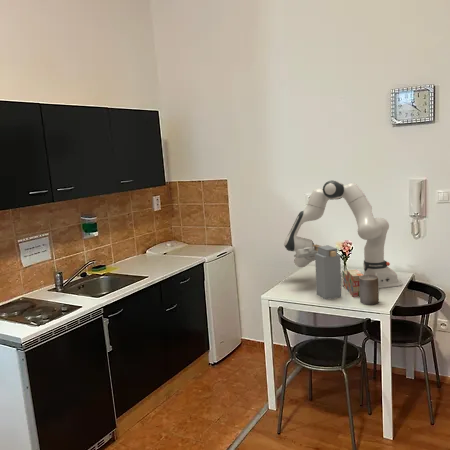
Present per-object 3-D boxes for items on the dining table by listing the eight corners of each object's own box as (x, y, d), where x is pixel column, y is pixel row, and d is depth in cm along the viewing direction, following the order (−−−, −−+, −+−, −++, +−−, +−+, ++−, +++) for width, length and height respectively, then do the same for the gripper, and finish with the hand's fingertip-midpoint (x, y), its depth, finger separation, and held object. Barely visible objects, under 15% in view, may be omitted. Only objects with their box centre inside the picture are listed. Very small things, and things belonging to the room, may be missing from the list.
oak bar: (312, 249, 263) (312, 244, 263) (316, 248, 264) (316, 244, 264) (331, 256, 243) (331, 252, 242) (336, 256, 243) (336, 251, 243)
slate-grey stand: (316, 294, 257) (314, 247, 252) (332, 291, 260) (330, 244, 255) (325, 299, 247) (323, 250, 243) (341, 296, 250) (340, 248, 246)
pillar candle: (379, 299, 242) (378, 272, 240) (378, 305, 233) (377, 277, 231) (360, 298, 246) (359, 272, 243) (359, 304, 237) (358, 277, 234)
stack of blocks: (343, 285, 270) (342, 265, 268) (353, 285, 270) (352, 265, 268) (353, 297, 249) (352, 275, 247) (364, 296, 249) (363, 274, 247)
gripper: (291, 252, 271) (299, 244, 258) (321, 247, 276) (331, 240, 264) (294, 262, 269) (302, 254, 256) (324, 257, 274) (334, 250, 262)
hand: (317, 247), depth 260 cm, fingers closed on oak bar, 3 cm apart
